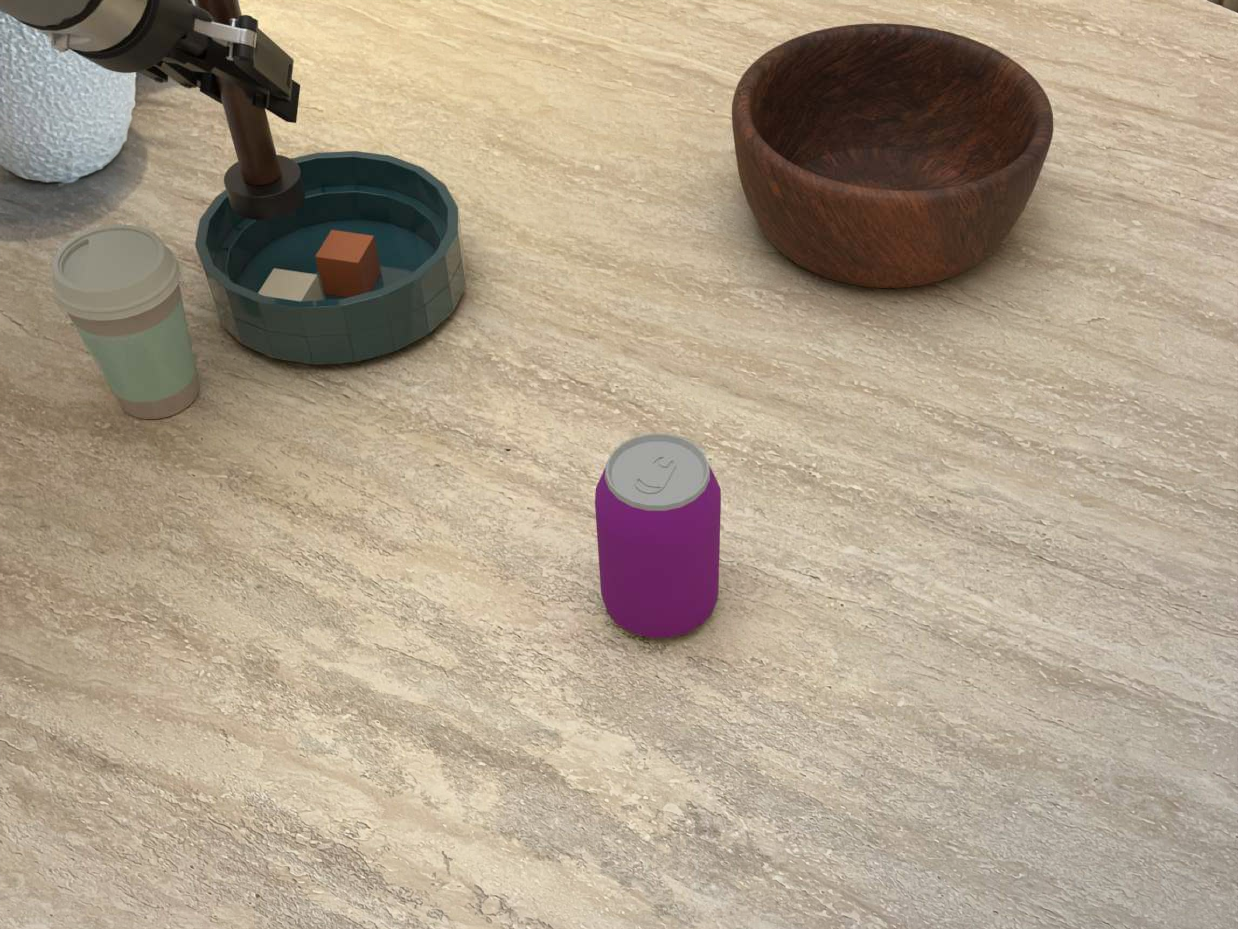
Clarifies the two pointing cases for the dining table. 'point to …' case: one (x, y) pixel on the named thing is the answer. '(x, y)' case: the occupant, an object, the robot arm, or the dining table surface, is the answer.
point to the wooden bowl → (888, 151)
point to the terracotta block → (348, 264)
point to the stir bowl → (336, 326)
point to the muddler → (253, 147)
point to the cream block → (292, 286)
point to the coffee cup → (129, 316)
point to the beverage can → (658, 535)
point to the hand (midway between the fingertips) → (270, 100)
